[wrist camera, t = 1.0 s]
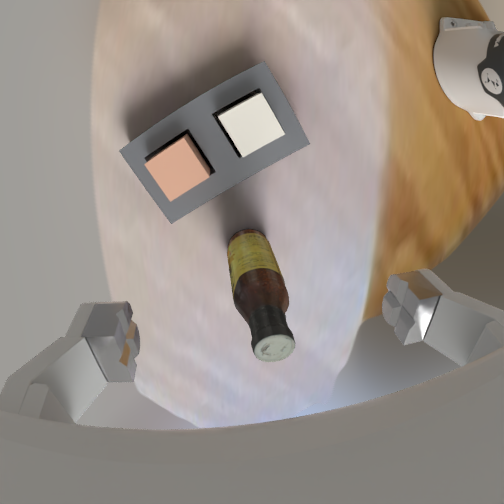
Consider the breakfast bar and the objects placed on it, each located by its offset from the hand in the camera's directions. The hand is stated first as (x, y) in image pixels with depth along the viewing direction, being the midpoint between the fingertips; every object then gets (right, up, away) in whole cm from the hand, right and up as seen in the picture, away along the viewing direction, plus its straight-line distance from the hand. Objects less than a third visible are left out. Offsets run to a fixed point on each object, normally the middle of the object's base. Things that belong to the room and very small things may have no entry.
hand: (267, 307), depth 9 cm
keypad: (-5, +16, +27) cm, 32 cm away
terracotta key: (-9, +12, +24) cm, 29 cm away
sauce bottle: (-1, +2, +36) cm, 36 cm away
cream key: (-1, +16, +23) cm, 28 cm away
